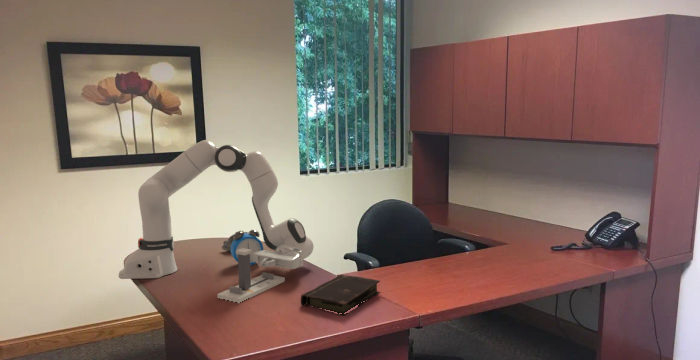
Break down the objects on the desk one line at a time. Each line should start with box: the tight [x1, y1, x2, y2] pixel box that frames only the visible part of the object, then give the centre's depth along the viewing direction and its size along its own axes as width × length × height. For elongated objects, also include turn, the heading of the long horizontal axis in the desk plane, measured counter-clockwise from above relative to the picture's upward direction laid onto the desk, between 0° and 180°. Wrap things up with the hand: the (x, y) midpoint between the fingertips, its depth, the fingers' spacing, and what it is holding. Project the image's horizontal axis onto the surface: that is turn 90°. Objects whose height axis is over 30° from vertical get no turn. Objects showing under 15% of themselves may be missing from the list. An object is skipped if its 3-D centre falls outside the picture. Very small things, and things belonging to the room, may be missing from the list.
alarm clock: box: [230, 229, 264, 266], centre depth 214 cm, size 13×6×15 cm, turn 116°
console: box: [217, 271, 286, 304], centre depth 184 cm, size 26×10×4 cm, turn 150°
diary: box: [300, 274, 381, 316], centre depth 175 cm, size 19×25×5 cm
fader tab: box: [236, 248, 252, 290], centre depth 180 cm, size 4×4×14 cm
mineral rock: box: [221, 230, 250, 252], centre depth 236 cm, size 13×11×10 cm
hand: (263, 264), depth 189 cm, fingers closed
